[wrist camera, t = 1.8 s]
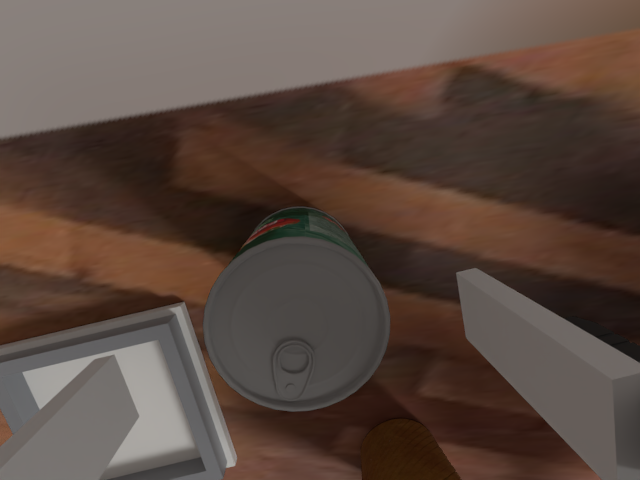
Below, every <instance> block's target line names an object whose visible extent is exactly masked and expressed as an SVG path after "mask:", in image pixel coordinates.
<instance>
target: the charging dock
mask: <svg viewBox="0 0 640 480" xmlns="http://www.w3.org/2000/svg"><path fill="white" fill-rule="evenodd" d="M110 355H115V357H116V360H117V362H118V365H119V367H120V369H121V372H122V374H123V377H124V379H125V382H126V384H127V387H128V389H129V392H130V394H131V397H132V399H133V402H134V404H135V407H136V409H137V412H138V414H139V418H138V420H137V421H136V423H135V424H134V426H133V427H132V429H131V430H130V432H129V433H128V435H127V437H126V438H125V440H124V441H123V443H122V444H121V446H120V447H119V449H118V450H117V452H116V454H115V455H114V457H113V458H112V460H111V461H110V463H109V464H108V466H107V467H106V469H105V471H104V472H103V474H102V475H101V477H100V478H99V480H220V479H223V477H224V473H225V469H226V468H228V467H232V466H235V465H236V460H237V456H236V453H235V450H234V447H233V444H232V441H231V438H230V435H229V432H228V429H227V426H226V423H225V420H224V417H223V414H222V411H221V408H220V405H219V402H218V399H217V397H216V394H215V391H214V388H213V385H212V382H211V379H210V376H209V373H208V370H207V367H206V364H205V361H204V358H203V355H202V352H201V349H200V346H199V343H198V340H197V337H196V335H195V332H194V329H193V326H192V323H191V320H190V317H189V314H188V311H187V308H186V305H185V302H181V303H176V304H172V305H168V306H164V307H160V308H155V309H151V310H147V311H143V312H139V313H134V314H130V315H126V316H122V317H118V318H113V319H109V320H105V321H101V322H97V323H92V324H88V325H84V326H80V327H76V328H71V329H67V330H63V331H59V332H55V333H50V334H46V335H42V336H38V337H34V338H29V339H25V340H21V341H17V342H13V343H8V344H4V345H0V409H1V411H2V413H3V415H4V417H5V419H6V421H7V423H8V425H9V427H10V429H11V431H12V433H13V435H14V434H15V433H16V432H17V431H18V430H19V429H20V428H21V427H22V426H23V425H24V424H25V423H27V422H28V421H29V420H30V419H31V418H32V417H33V416H34V415H35V414H36V413H37V412H38V411H39V410H40V409H42V408H43V407H44V406H45V405H46V404H47V403H48V402H49V401H50V400H51V399H52V398H53V397H54V396H55V395H57V394H58V393H59V392H60V391H61V390H62V389H63V388H64V387H65V386H66V385H67V384H68V383H69V382H71V381H72V380H73V379H74V378H75V377H76V376H77V375H78V374H79V373H80V372H81V371H82V370H83V369H84V368H86V367H87V366H88V365H89V364H90V363H91V362H92V361H93V360H94V359H97V358H102V357H106V356H110Z"/></svg>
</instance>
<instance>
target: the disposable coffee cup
mask: <svg viewBox="0 0 640 480" xmlns="http://www.w3.org/2000/svg"><path fill="white" fill-rule="evenodd" d="M442 452H443V451H442V450H441V448H440V447H439V445H438V444H437V442H436V441H435V439H434V438H433V436H432V435H431V433H430V432H429V431H428V429H427V428H426V427H425V426H423V425H422V424H420V423H418V422H416V421H413V420H409V419H393V420H389V421H386V422H383V423H381V424H379V425H378V426H376V427H375V428H373V429H372V430H371V431H370V432H369V433H368V435H367V436H366V438H365V439H364V441H363V444H362V447H361V469H362V480H461V479H460V476H459V475H458V474H457V472H455V469H454V467H453V466H452V465H451V463H450V462H449V460H448V459H447V457H446V456H445V454H444V453H442Z"/></svg>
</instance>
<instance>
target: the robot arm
mask: <svg viewBox="0 0 640 480" xmlns="http://www.w3.org/2000/svg"><path fill="white" fill-rule="evenodd" d="M456 276H457V282H458V289H459V296H460V302H461V309H462V315H463V322H464V328H465V335H466V339H467V340H468V341H469V342H470V343H471V344H472V345H473V346H474V347H475V348H476V349H477V350H478V351H479V352H480V353H481V354H482V355H483V356H484V357H485V358H486V359H487V360H488V361H489V362H490V364H491V365H492V366H493V367H494V368H495V369H496V370H497V371H498V372H499V373H500V374H501V375H502V376H503V377H504V378H505V379H506V380H507V381H508V382H509V383H510V384H511V385H512V386H513V387H514V389H515V390H516V391H517V392H518V393H519V394H520V395H521V396H522V397H523V398H524V399H525V400H526V401H527V402H528V403H529V404H530V405H531V406H532V407H533V408H534V409H535V410H536V411H537V412H538V413H539V415H540V416H541V417H542V418H543V419H544V420H545V421H546V422H547V423H548V424H549V425H550V426H551V427H552V428H553V429H554V430H555V431H556V432H557V433H558V434H559V435H560V436H561V437H562V438H563V440H564V441H565V442H566V443H567V444H568V445H569V446H570V447H571V448H572V449H573V450H574V451H575V452H576V453H577V454H578V455H579V456H580V457H581V458H582V459H583V460H584V461H585V462H586V463H587V465H588V466H589V467H590V468H591V469H592V470H593V471H594V472H595V473H596V474H597V475H598V476H599V477H600V478H601V479H602V480H640V346H639V345H637V344H635V343H630V342H629V340H627V339H625V338H624V337H622V336H620V335H618V334H614V332H612V331H610V330H608V329H607V328H605V327H603V326H601V325H599V324H597V323H595V322H592V321H588V320H585V319H581V318H578V317H574V316H572V317H568V318H564V319H563V318H562V317H560V316H558V315H556V314H555V313H553V312H551V311H550V310H548V309H546V308H544V307H543V306H541V305H539V304H537V303H536V302H534V301H532V300H531V299H529V298H527V297H525V296H524V295H522V294H520V293H518V292H517V291H515V290H513V289H512V288H510V287H508V286H506V285H505V284H503V283H501V282H500V281H498V280H496V279H494V278H493V277H491V276H489V275H487V274H486V273H484V272H482V271H481V270H479V269H477V268H473V269H469V270H465V271H460V272H456ZM138 418H139V414H138V412H137V409H136V407H135V404H134V402H133V399H132V397H131V394H130V392H129V389H128V387H127V384H126V382H125V379H124V377H123V374H122V372H121V369H120V367H119V365H118V362H117V360H116V357H115V355H110V356H106V357H102V358H97V359H94V360H93V361H92V362H91V363H90V364H89V365H88V366H87V367H86V368H84V369H83V370H82V371H81V372H80V373H79V374H78V375H77V376H76V377H75V378H74V379H73V380H72V381H71V382H69V383H68V384H67V385H66V386H65V387H64V388H63V389H62V390H61V391H60V392H59V393H58V394H57V395H55V396H54V397H53V398H52V399H51V400H50V401H49V402H48V403H47V404H46V405H45V406H44V407H43V408H42V409H40V410H39V411H38V412H37V413H36V414H35V415H34V416H33V417H32V418H31V419H30V420H29V421H28V422H27V423H25V424H24V425H23V426H22V427H21V428H20V429H19V430H18V431H17V432H16V433H15V434H14V435H13V436H11V437H10V438H9V439H8V440H7V441H6V442H5V443H4V444H3V445H2V446H1V447H0V480H99V478H100V477H101V475H102V474H103V472H104V471H105V469H106V467H107V466H108V464H109V463H110V461H111V460H112V458H113V457H114V455H115V454H116V452H117V450H118V449H119V447H120V446H121V444H122V443H123V441H124V440H125V438H126V437H127V435H128V433H129V432H130V430H131V429H132V427H133V426H134V424H135V423H136V421H137V420H138Z"/></svg>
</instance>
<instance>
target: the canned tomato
mask: <svg viewBox="0 0 640 480" xmlns="http://www.w3.org/2000/svg"><path fill="white" fill-rule="evenodd" d="M203 332H204V342H205V345H206V348H207V351H208V354H209V358H210V360H211V361H212V363H213V365H214V367H215V368H216V370H217V372H218V373H219V375H220V376H221V377H222V378H223V379H224V380H225V381H226V383H227V384H228V385H229V386H230V387H231V388H233V389H234V390H235V391H237V392H238V393H239V394H240V395H242V396H243V397H245V398H247V399H249V400H251V401H253V402H255V403H257V404H259V405H262V406H265V407H269V408H272V409H275V410H283V411H292V412H294V411H310V410H315V409H319V408H323V407H327V406H330V405H332V404H334V403H337V402H339V401H341V400H343V399H345V398H347V397H348V396H350V395H351V394H353V393H354V392H356V391H357V390H358V389H359V388H360V387H361V386H362V385H363V384H365V383H366V382H367V381H368V380H369V379H370V377H371V376H372V375H373V373H374V372H375V370H376V369H377V368H378V366H379V365H380V362H381V360H382V358H383V356H384V354H385V351H386V348H387V344H388V340H389V335H390V313H389V308H388V303H387V298H386V296H385V294H384V291H383V289H382V287H381V284H380V282H379V281H378V279H377V278H376V277H375V275H374V274H373V272H372V271H371V269H370V268H369V267H368V265H367V264H366V262H365V261H364V259H363V257H362V256H361V254H360V253H359V251H358V250H357V248H356V247H355V245H354V244H353V242H352V241H351V239H350V237H349V235H348V233H347V232H346V231H345V229H344V228H343V226H342V225H341V224H340V223H339V222H338V221H337V220H336V219H335V218H333V217H332V216H330V215H329V214H327V213H325V212H323V211H320V210H318V209H315V208H310V207H304V206H302V207H289V208H285V209H281V210H279V211H277V212H275V213H272V214H271V215H269V216H268V217H267V218H265V219H264V220H263V221H262V222H261V223H260V224H259V225H258V226H257V227H256V228H255V230H254V232H253V233H252V234H251V236H250V237H249V238H248V240H247V241H246V242H245V243H244V245H243V246H242V248H241V249H240V250H239V252H238V253H237V254H236V256H235V257H234V258H233V259H232V261H231V262H230V263H229V265H228V266H227V267H226V268H225V269H224V270H223V272H222V273H221V274H220V275H219V277H218V279H217V280H216V282H215V284H214V285H213V287H212V289H211V291H210V294H209V297H208V299H207V302H206V305H205V310H204V319H203Z"/></svg>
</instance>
